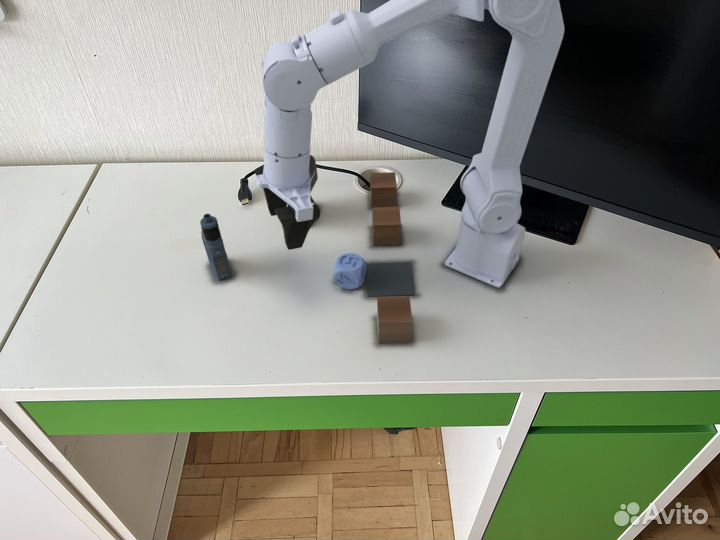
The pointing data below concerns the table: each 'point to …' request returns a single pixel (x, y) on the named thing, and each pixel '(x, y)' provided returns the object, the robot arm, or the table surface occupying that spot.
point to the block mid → (386, 226)
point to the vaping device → (215, 247)
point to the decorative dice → (350, 271)
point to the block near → (394, 319)
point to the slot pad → (389, 279)
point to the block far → (383, 189)
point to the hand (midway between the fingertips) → (285, 229)
